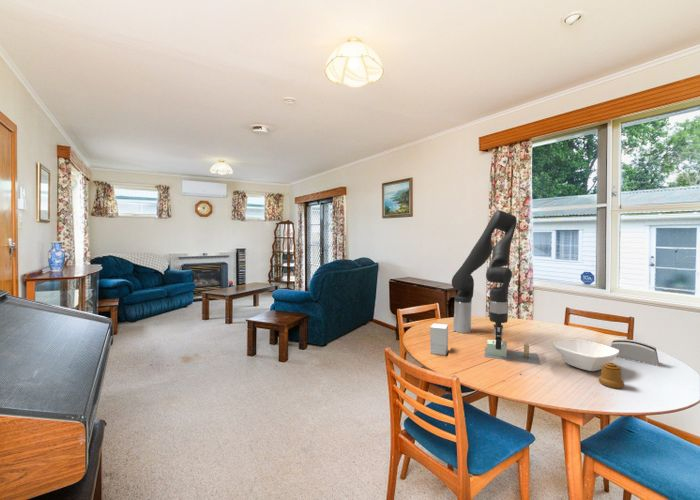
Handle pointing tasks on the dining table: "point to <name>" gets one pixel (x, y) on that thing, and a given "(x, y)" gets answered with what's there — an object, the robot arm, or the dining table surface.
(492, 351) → the collar
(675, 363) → the dining table surface
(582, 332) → the dining table surface
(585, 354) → the bowl
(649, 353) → the grey curved slab
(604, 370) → the ornamental finial
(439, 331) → the supplement box
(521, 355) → the board
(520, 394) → the dining table surface
